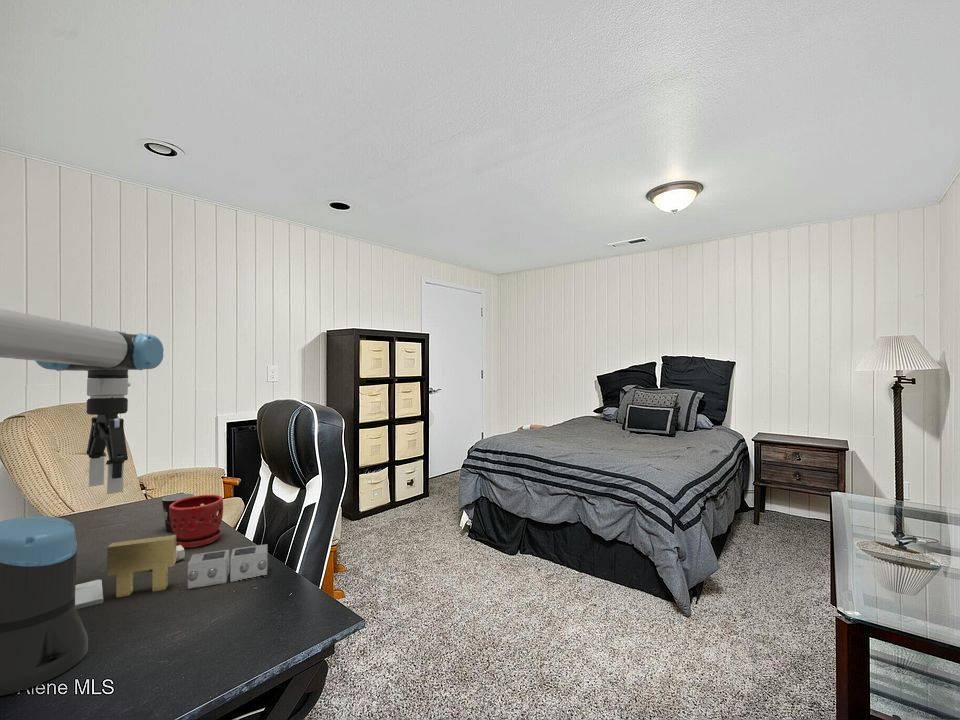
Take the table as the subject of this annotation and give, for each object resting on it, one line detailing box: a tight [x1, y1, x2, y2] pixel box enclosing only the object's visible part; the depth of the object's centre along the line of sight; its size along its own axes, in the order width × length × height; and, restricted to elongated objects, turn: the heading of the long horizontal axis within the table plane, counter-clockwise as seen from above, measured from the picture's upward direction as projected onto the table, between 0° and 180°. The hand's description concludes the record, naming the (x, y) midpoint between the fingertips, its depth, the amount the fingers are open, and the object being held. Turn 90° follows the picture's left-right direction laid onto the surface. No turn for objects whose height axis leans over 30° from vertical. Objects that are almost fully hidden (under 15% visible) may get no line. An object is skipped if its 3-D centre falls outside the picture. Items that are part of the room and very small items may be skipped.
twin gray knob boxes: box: [187, 543, 268, 590], centre depth 110 cm, size 7×16×6 cm, turn 113°
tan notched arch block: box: [106, 534, 177, 599], centre depth 104 cm, size 3×12×11 cm, turn 113°
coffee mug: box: [161, 492, 196, 534], centre depth 144 cm, size 12×9×10 cm
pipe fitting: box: [146, 545, 186, 572], centre depth 119 cm, size 8×4×7 cm
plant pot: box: [169, 494, 224, 549], centre depth 134 cm, size 13×13×12 cm
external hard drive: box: [75, 579, 104, 610], centre depth 101 cm, size 2×8×12 cm
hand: (105, 489), depth 109 cm, fingers open, 13 cm apart
